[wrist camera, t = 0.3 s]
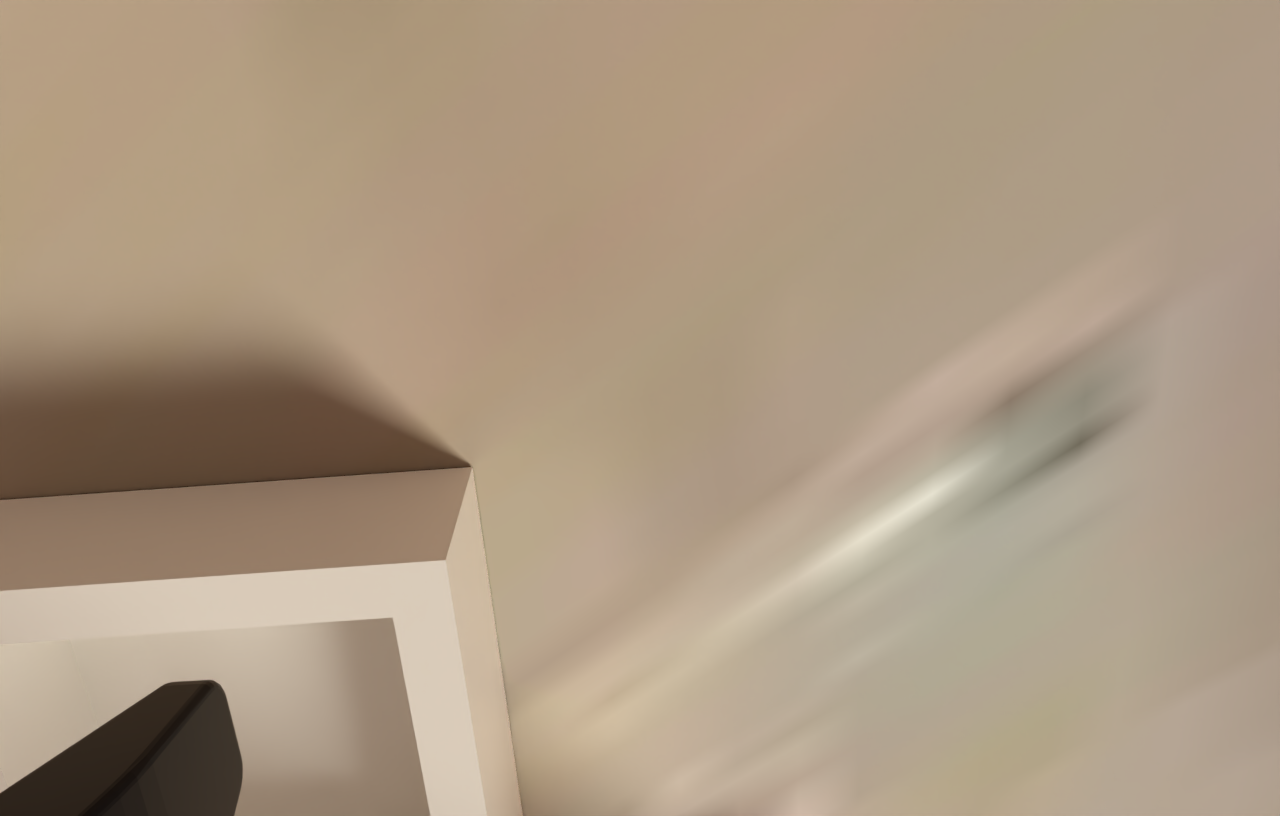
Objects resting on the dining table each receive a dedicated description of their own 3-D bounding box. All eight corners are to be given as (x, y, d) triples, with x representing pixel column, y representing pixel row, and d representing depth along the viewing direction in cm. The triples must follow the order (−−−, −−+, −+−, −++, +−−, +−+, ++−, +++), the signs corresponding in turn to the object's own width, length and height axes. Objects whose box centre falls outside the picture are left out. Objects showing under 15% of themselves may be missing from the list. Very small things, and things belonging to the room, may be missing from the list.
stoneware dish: (526, 837, 28) (512, 970, 24) (114, 866, 28) (38, 1002, 24) (471, 467, 24) (445, 560, 20) (-13, 501, 24) (-130, 600, 20)
